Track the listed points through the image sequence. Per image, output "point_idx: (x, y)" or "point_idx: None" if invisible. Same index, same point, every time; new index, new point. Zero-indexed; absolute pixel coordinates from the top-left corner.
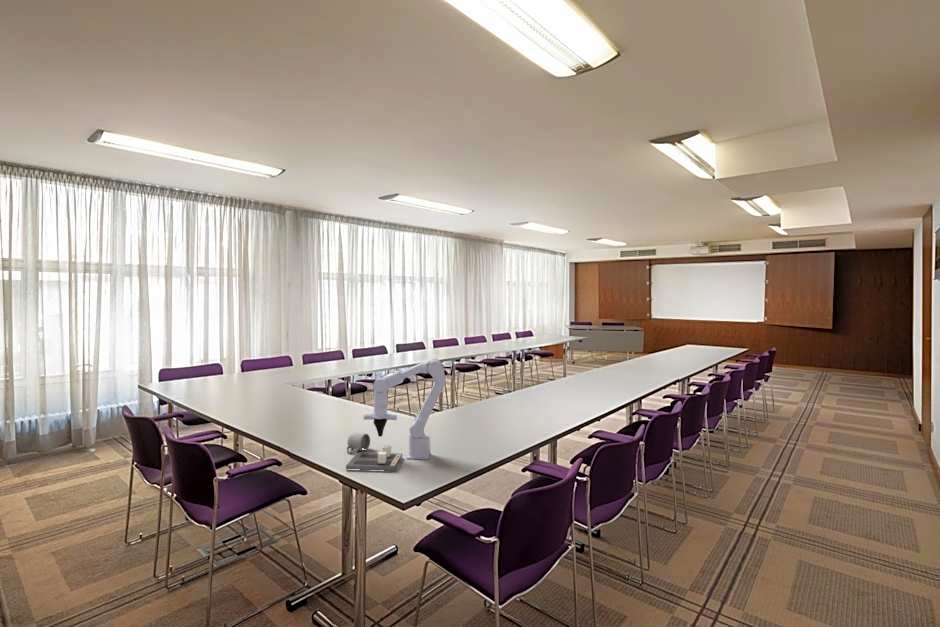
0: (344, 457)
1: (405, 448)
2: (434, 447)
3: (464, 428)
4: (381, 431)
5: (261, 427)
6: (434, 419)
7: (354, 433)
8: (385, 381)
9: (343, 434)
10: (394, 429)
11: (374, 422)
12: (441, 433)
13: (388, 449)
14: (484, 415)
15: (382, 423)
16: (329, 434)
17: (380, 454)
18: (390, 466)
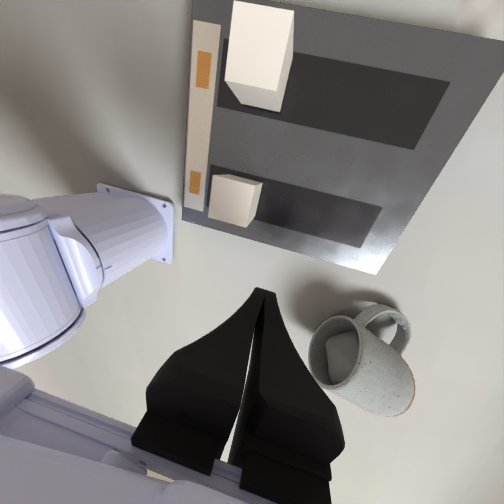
0: (427, 274)
1: (193, 304)
2: (113, 290)
3: (85, 381)
4: (246, 305)
5: None
6: None
7: (389, 413)
8: None
9: (373, 447)
10: (234, 427)
11: (328, 418)
12: (123, 372)
13: (222, 176)
14: None
15: (201, 360)
16: (416, 461)
17: (271, 8)
18: (217, 1)
